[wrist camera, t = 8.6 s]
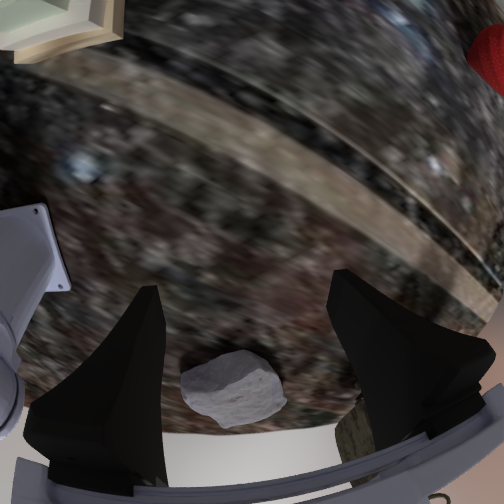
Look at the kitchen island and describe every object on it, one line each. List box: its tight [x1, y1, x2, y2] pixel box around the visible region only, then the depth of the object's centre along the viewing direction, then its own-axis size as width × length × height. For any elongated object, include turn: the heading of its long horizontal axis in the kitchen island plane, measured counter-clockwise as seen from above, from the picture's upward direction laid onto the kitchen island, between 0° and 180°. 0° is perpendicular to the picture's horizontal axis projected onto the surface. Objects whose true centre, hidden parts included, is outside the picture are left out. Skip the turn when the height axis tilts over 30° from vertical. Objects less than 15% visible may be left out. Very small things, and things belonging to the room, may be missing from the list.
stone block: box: [180, 349, 287, 428], centre depth 31 cm, size 12×5×10 cm
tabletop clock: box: [335, 380, 451, 504], centre depth 27 cm, size 14×9×25 cm, turn 155°
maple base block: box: [14, 0, 125, 64], centre depth 10 cm, size 7×7×3 cm
